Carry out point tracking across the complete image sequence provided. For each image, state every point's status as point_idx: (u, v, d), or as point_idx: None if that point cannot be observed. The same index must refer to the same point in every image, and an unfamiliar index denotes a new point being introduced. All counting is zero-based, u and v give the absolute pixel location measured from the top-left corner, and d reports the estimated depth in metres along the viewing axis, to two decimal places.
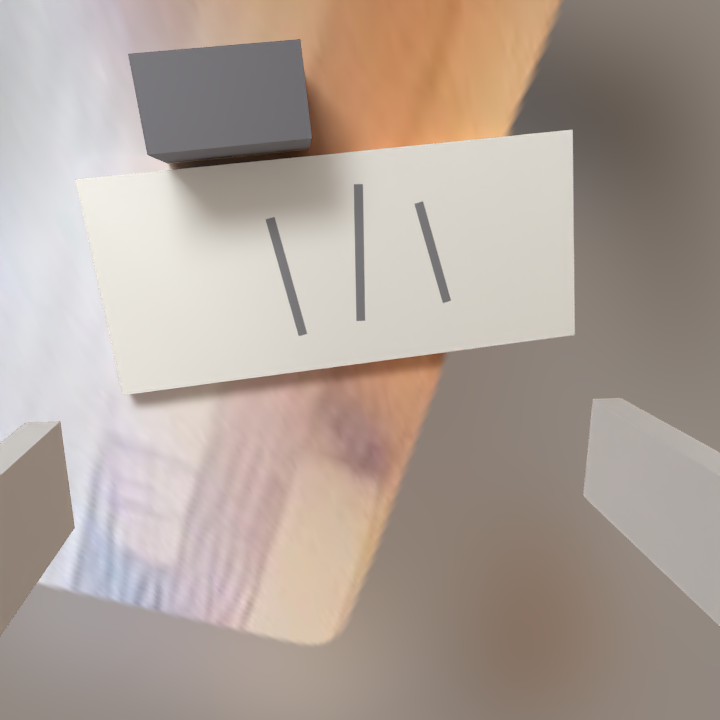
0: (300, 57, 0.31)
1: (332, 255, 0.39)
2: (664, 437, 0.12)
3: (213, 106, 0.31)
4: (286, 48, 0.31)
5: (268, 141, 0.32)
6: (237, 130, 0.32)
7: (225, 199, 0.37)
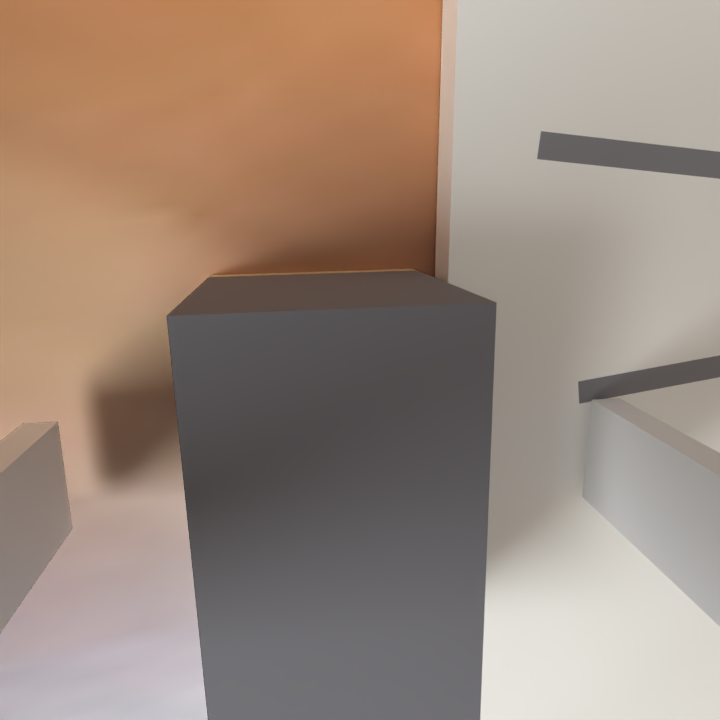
0: (228, 320, 0.09)
1: (700, 242, 0.14)
2: (664, 438, 0.12)
3: (370, 599, 0.10)
4: (198, 366, 0.09)
5: (487, 447, 0.10)
6: (445, 535, 0.10)
7: (519, 489, 0.15)
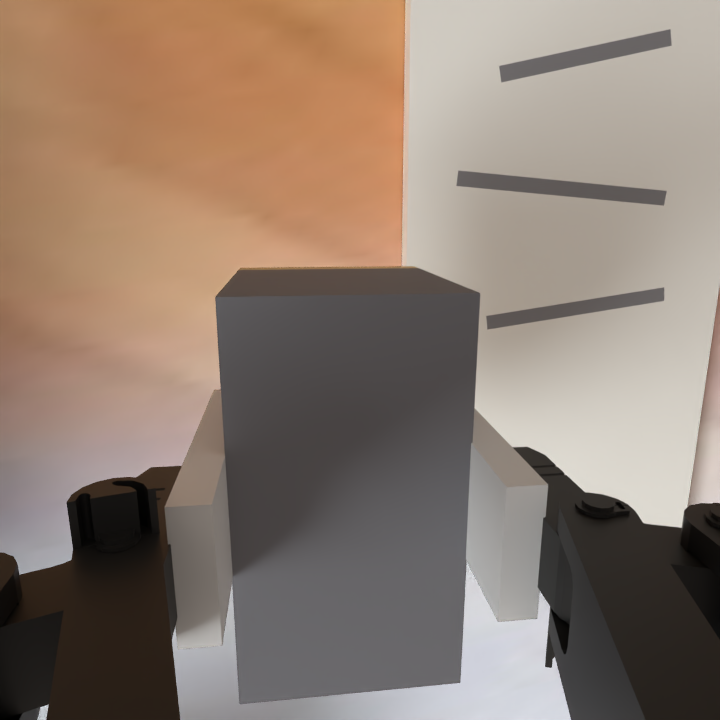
0: (264, 301, 0.11)
1: (556, 233, 0.24)
2: None
3: (372, 537, 0.12)
4: (238, 338, 0.11)
5: (471, 412, 0.12)
6: (435, 485, 0.12)
7: None
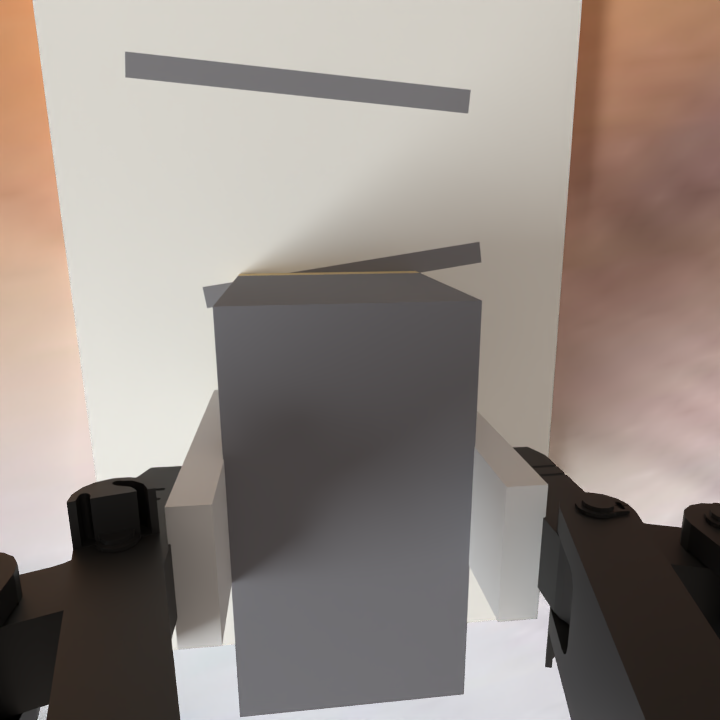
0: (262, 310, 0.11)
1: (301, 156, 0.16)
2: None
3: (373, 547, 0.12)
4: (236, 348, 0.11)
5: (473, 421, 0.12)
6: (437, 495, 0.12)
7: (161, 389, 0.17)
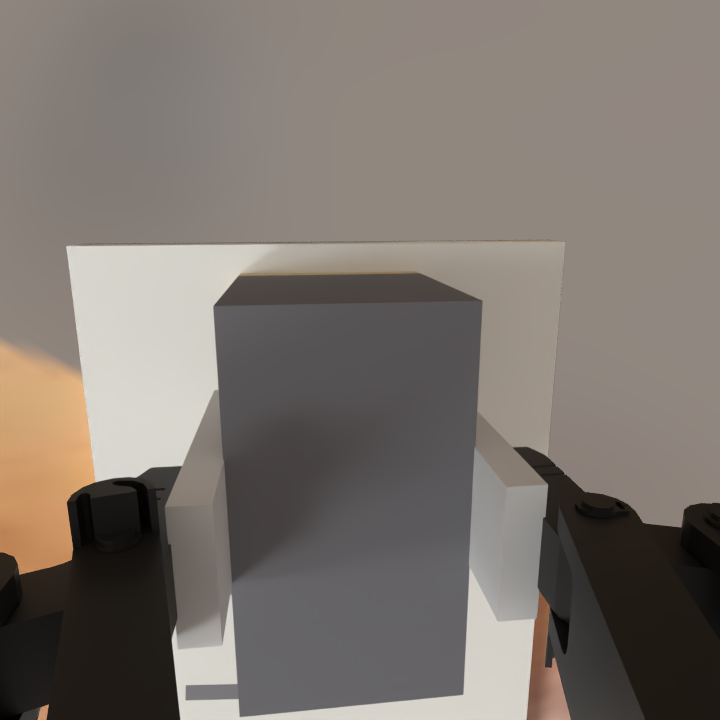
0: (262, 310, 0.11)
1: None
2: None
3: (373, 548, 0.12)
4: (237, 348, 0.11)
5: (474, 421, 0.12)
6: (437, 495, 0.12)
7: None
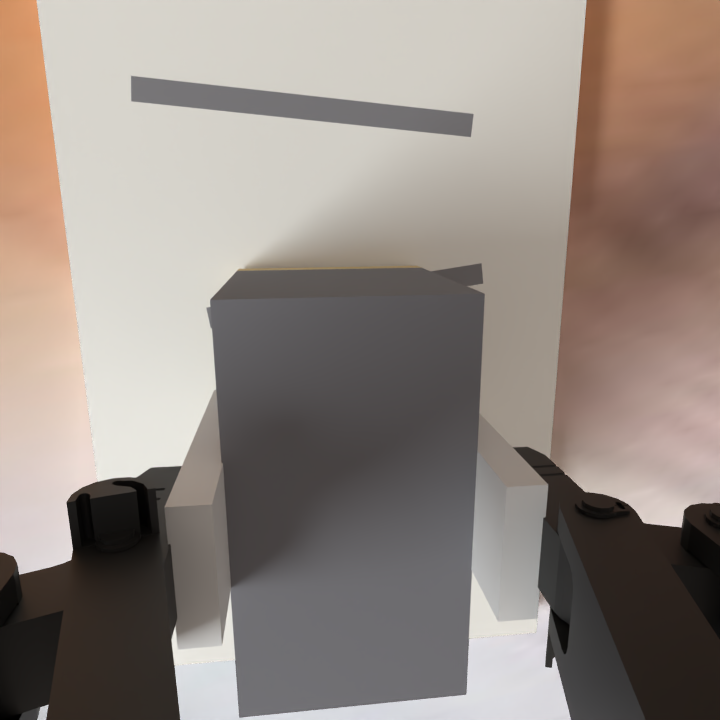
0: (260, 304, 0.10)
1: (305, 179, 0.16)
2: None
3: (374, 546, 0.12)
4: (234, 342, 0.10)
5: (476, 417, 0.11)
6: (438, 492, 0.12)
7: (165, 408, 0.17)
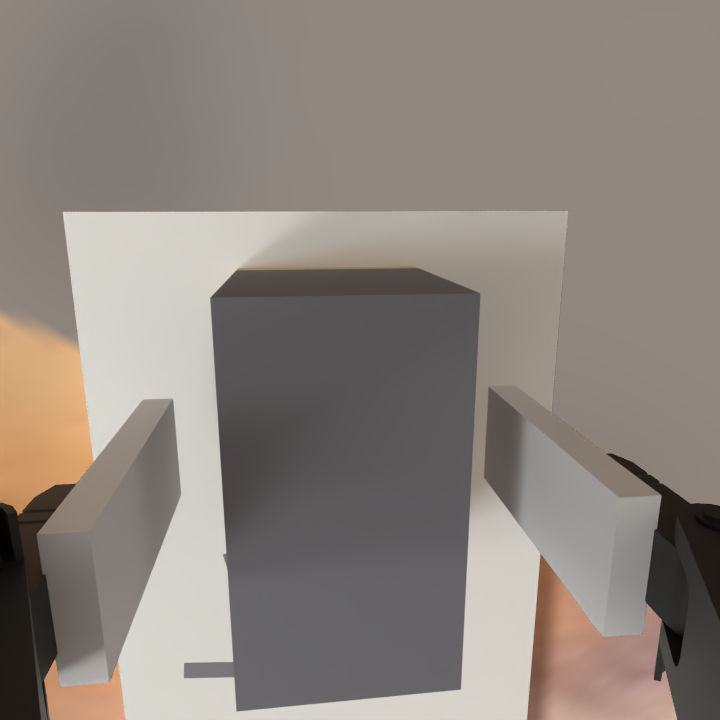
0: (259, 302, 0.11)
1: (317, 712, 0.20)
2: (534, 418, 0.13)
3: (371, 542, 0.12)
4: (234, 340, 0.11)
5: (471, 414, 0.12)
6: (434, 489, 0.12)
7: None
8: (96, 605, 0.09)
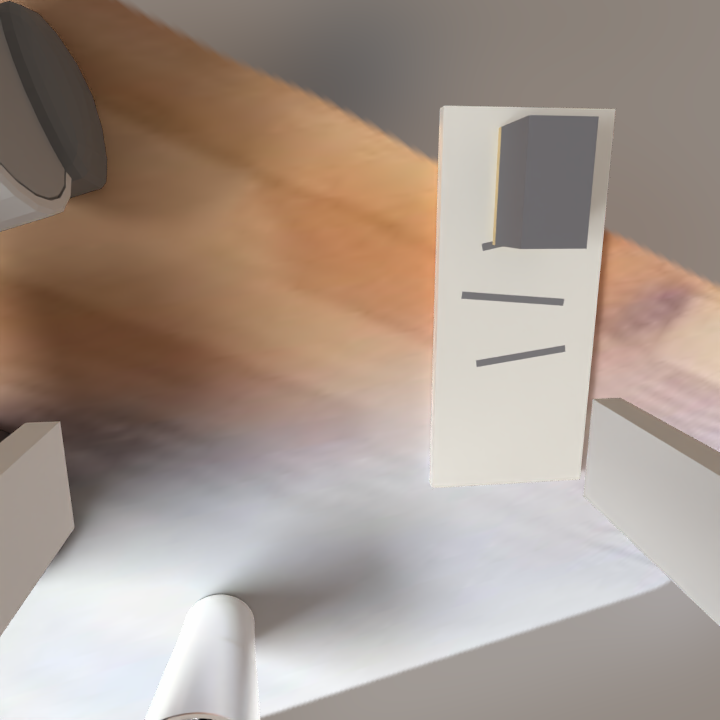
0: (541, 116, 0.40)
1: (510, 320, 0.49)
2: (664, 437, 0.12)
3: (564, 192, 0.41)
4: (534, 127, 0.40)
5: (594, 153, 0.41)
6: (583, 176, 0.41)
7: (459, 393, 0.50)
8: None
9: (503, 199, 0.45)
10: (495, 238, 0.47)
